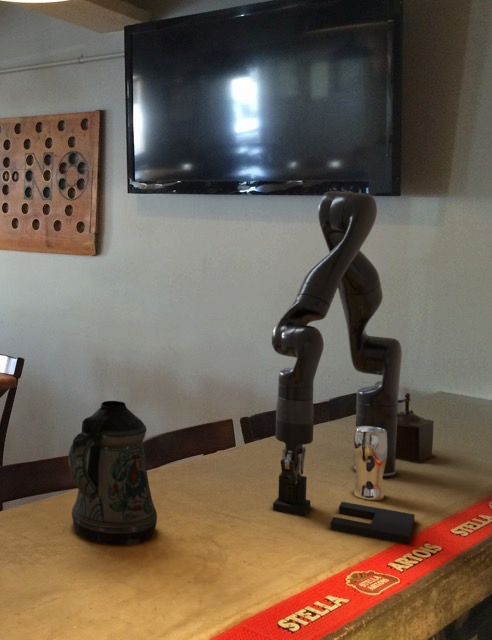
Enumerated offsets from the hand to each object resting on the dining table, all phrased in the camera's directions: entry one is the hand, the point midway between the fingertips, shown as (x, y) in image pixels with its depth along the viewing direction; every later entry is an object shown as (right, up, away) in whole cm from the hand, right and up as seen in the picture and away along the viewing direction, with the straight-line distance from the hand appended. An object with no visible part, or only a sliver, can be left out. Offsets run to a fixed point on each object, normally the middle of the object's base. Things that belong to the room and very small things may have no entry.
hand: (292, 498), depth 171 cm
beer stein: (-40, -2, -15) cm, 43 cm away
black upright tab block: (0, -2, 0) cm, 2 cm away
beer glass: (+20, -2, +9) cm, 22 cm away
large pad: (+13, -3, -9) cm, 16 cm away
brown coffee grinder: (+43, -1, +44) cm, 62 cm away
